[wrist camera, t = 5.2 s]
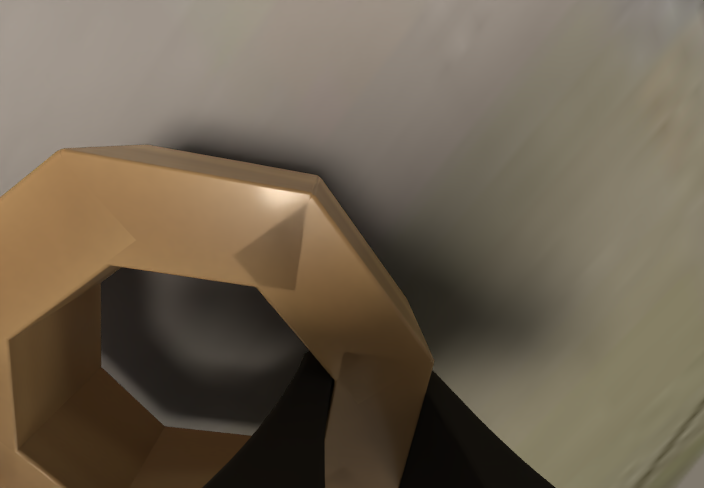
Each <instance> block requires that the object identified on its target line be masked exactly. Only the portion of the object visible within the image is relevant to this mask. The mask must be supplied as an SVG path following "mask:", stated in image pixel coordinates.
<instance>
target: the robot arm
mask: <svg viewBox="0 0 704 488" xmlns="http://www.w3.org/2000/svg"><path fill="white" fill-rule="evenodd" d="M331 384H332V377H331V375H330V374H329V373H328V372H327V371H326V369H325V368H324V367H323V366H322V365H321V364H320V362H319V361H318V360H317V359H316V358H315V356H314V355H313V354H312V353H311V352H310V351H308V352H306V353H305V354H304V356H303V360H302V362H301V365H300V367H299V369H298V371H297V373H296V374H295V376H294V378H293V380H292V382H291V383H290V385H289V386H288V388H287V389H286V391H285V393H284V394H283V396H282V397H281V399H280V400H279V402H278V403H277V404H276V406H275V407H274V408H273V410H272V411H271V412H270V414H269V415H268V416H267V418H266V419H265V420H264V422H263V423H262V424H261V426H260V427H259V428H258V429H257V430H256V432H255V433H254V434H253V435H252V436H251V438H250V439H249V440H248V441H247V442H246V443H245V444H244V445H243V447H242V448H241V449H240V450H239V451H238V452H237V453H236V454H235V455H234V456H233V457H232V459H231V460H230V461H229V462H228V463H227V464H226V465H225V466H224V467H223V468H222V469H221V470H220V471H219V472H218V473H217V474H216V475H215V476H214V477H213V478H212V479H211V480H210V481H209V482H208V483H207V484H205V485H204V486H203V487H202V488H325V428H326V419H327V412H328V405H329V398H330V391H331ZM399 488H555V487H554V486H553V485H552V484H550V483H549V482H548V481H547V480H546V479H544V478H543V477H542V476H541V475H539V474H538V473H537V472H536V471H535V470H533V469H532V468H531V467H530V466H529V465H528V464H527V463H525V462H524V461H523V460H522V459H521V458H520V457H519V456H518V455H517V454H515V453H514V452H513V451H512V450H511V449H510V448H509V447H508V446H507V445H506V444H505V443H504V442H502V441H501V440H500V439H499V438H498V437H497V436H496V435H495V434H494V433H493V432H492V431H491V430H490V429H489V428H488V427H487V426H486V425H485V424H484V423H483V422H482V421H481V420H480V419H479V418H478V417H477V416H476V415H475V414H474V413H473V412H472V411H471V410H470V409H469V408H468V407H467V406H466V405H465V404H464V403H463V402H462V401H461V399H460V398H459V397H458V396H457V395H456V394H455V393H454V392H453V391H452V390H451V389H450V388H449V387H448V386H447V385H446V384H445V383H444V381H443V380H442V379H441V378H440V377H439V376H438V375H437V374H436V373H435V372H434V371H433V370H432V372H431V376H430V379H429V383H428V387H427V390H426V394H425V397H424V401H423V404H422V408H421V411H420V415H419V419H418V422H417V426H416V429H415V433H414V436H413V440H412V443H411V447H410V451H409V454H408V458H407V461H406V465H405V468H404V472H403V475H402V479H401V483H400V486H399Z"/></svg>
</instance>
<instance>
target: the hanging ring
mask: <svg viewBox="0 0 704 488" xmlns="http://www.w3.org/2000/svg"><path fill="white" fill-rule="evenodd" d="M122 267H125V268H132V269H138V270H145V271H152V272H159V273H165V274H172V275H179V276H186V277H192V278H199V279H206V280H213V281H219V282H226V283H233V284H240V285H246V286H253V287H256V288H257V289H258V290H259V291H260V292H261V294H262V295H263V296H264V297H265V298H266V300H267V301H268V302H269V303H270V304H271V305H272V307H273V308H274V309H275V310H276V311H277V313H278V314H279V315H280V316H281V317H282V318H283V320H284V321H285V322H286V323H287V324H288V326H289V327H290V328H291V329H292V330H293V332H294V333H295V334H296V335H297V336H298V337H299V339H300V340H301V341H302V342H303V343H304V345H305V346H306V347H307V348H308V349H309V350H310V352H311V353H312V354H313V355H314V356H315V358H316V359H317V360H318V361H319V362H320V364H321V365H322V366H323V367H324V368H325V369H326V371H327V372H328V373H329V374H330V375H331V377H332V384H331V391H330V398H329V405H328V412H327V419H326V428H325V488H399V486H400V483H401V479H402V475H403V472H404V468H405V465H406V461H407V458H408V454H409V451H410V447H411V443H412V440H413V436H414V433H415V429H416V426H417V422H418V419H419V415H420V411H421V408H422V404H423V401H424V397H425V394H426V390H427V387H428V383H429V379H430V376H431V372H432V369H433V365H434V359H433V357H432V354H431V352H430V349H429V347H428V345H427V343H426V341H425V338H424V336H423V334H422V332H421V329H420V327H419V325H418V323H417V320H416V318H415V316H414V314H413V311H412V309H411V307H410V305H409V302H408V300H407V298H406V297H405V296H404V294H403V293H402V291H401V290H400V289H399V287H398V286H397V284H396V283H395V281H394V280H393V279H392V277H391V276H390V274H389V273H388V272H387V270H386V269H385V267H384V266H383V265H382V263H381V262H380V260H379V259H378V258H377V256H376V255H375V253H374V252H373V251H372V249H371V248H370V246H369V245H368V243H367V242H366V241H365V239H364V238H363V236H362V235H361V234H360V232H359V231H358V229H357V228H356V227H355V225H354V224H353V222H352V221H351V220H350V218H349V217H348V215H347V214H346V212H345V211H344V210H343V208H342V207H341V205H340V204H339V203H338V201H337V200H336V198H335V197H334V196H333V194H332V193H331V191H330V190H329V189H328V187H327V186H326V184H325V183H324V182H323V180H322V179H321V178H320V177H319V176H318V175H313V174H308V173H302V172H297V171H291V170H286V169H280V168H275V167H269V166H263V165H258V164H252V163H247V162H241V161H236V160H230V159H225V158H219V157H213V156H208V155H202V154H197V153H191V152H186V151H180V150H175V149H169V148H163V147H158V146H152V145H126V146H105V147H84V148H64V149H61V150H58V151H57V152H55V153H54V154H53V155H52V156H51V157H49V158H48V159H47V160H46V161H44V162H43V163H42V164H41V165H39V166H38V167H37V168H36V169H35V170H33V171H32V172H31V173H30V174H28V175H27V176H26V177H25V178H23V179H22V180H21V181H20V182H18V183H17V184H16V185H15V186H14V187H12V188H11V189H10V190H9V191H7V192H6V193H5V194H4V195H2V196H1V197H0V488H202V487H203V486H204V485H205V484H207V483H208V482H209V481H210V480H211V479H212V478H213V477H214V476H215V475H216V474H217V473H218V472H219V471H220V470H221V469H222V468H223V467H224V466H225V465H226V464H227V463H228V462H229V461H230V460H231V459H232V457H233V456H234V455H235V454H236V453H237V452H238V451H239V450H240V449H241V448H242V447H243V445H244V444H245V443H246V442H247V441H248V440H249V439H250V438H251V436H248V435H239V434H230V433H221V432H212V431H203V430H193V429H184V428H175V427H166V426H164V425H163V424H162V423H161V422H159V421H158V420H157V419H156V418H155V417H154V416H153V415H152V414H151V413H150V412H149V411H148V410H147V409H146V408H144V407H143V406H142V405H141V404H140V403H139V402H138V401H137V400H136V399H135V398H134V397H133V396H132V395H131V394H130V393H128V392H127V391H126V390H125V389H124V388H123V387H122V386H121V385H120V384H119V383H118V382H117V381H116V380H115V379H113V378H112V377H111V376H110V375H109V374H108V373H107V372H106V371H105V370H104V369H103V368H102V367H101V282H102V281H104V280H105V279H107V278H108V277H109V276H111V275H112V274H113V273H115V272H116V271H117V270H119V269H120V268H122Z"/></svg>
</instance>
